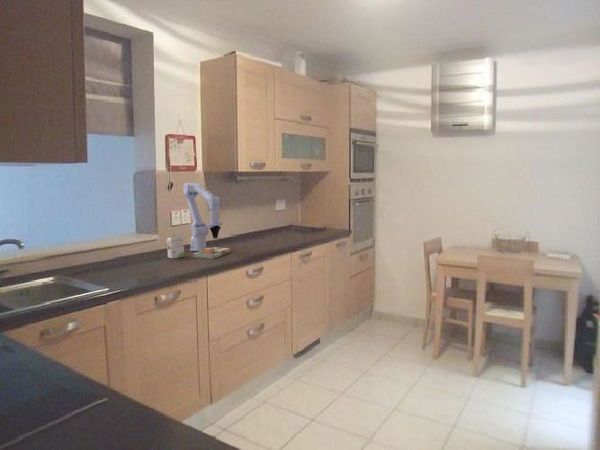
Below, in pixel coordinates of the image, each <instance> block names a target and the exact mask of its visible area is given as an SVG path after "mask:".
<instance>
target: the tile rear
mask: <svg viewBox="0 0 600 450" xmlns="http://www.w3.org/2000/svg"><path fill="white" fill-rule="evenodd" d="M203 252H204V253H211V252H214V248H211V247H206V248H205V249H203Z"/></svg>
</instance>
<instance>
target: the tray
mask: <svg viewBox="0 0 600 450" xmlns="http://www.w3.org/2000/svg"><path fill="white" fill-rule="evenodd" d="M201 253H203V252H202V251H195V252H194V253H192V258H196V259H197V258H198V259H208V260H209V259H210V260H211V259H212V260H214V259H217V258H219V257H221V252H219V253H216V254H213V255H209V254H201Z"/></svg>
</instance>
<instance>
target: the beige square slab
mask: <svg viewBox="0 0 600 450" xmlns="http://www.w3.org/2000/svg"><path fill="white" fill-rule="evenodd" d="M210 248H214V252H213V254H216V253H219V252H221V256H223V255H226V254H227V255H228V254H229V253H231V248H230V247H229V248H228V247H219V246H217V247H215V246H211V247H210ZM202 252H203V250H202ZM221 256H220V257H221Z"/></svg>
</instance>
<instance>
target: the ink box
mask: <svg viewBox="0 0 600 450" xmlns="http://www.w3.org/2000/svg"><path fill="white" fill-rule="evenodd" d="M184 239H185V238H184V232H183V231H182V232H175V233H170V237H167V238H166V245H167V246H166V247H167V258H169V259H178V258H183V257H185V242H184V241H185V240H184Z"/></svg>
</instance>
